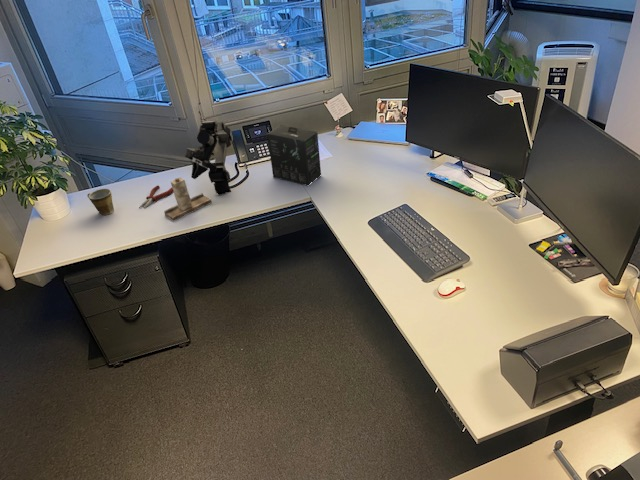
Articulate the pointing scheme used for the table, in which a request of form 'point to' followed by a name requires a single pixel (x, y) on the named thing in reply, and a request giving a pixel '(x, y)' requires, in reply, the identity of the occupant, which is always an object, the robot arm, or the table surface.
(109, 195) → the ceramic cup
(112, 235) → the table surface
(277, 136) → the headset box
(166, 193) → the pliers
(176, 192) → the beige boxy piece
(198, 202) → the board
